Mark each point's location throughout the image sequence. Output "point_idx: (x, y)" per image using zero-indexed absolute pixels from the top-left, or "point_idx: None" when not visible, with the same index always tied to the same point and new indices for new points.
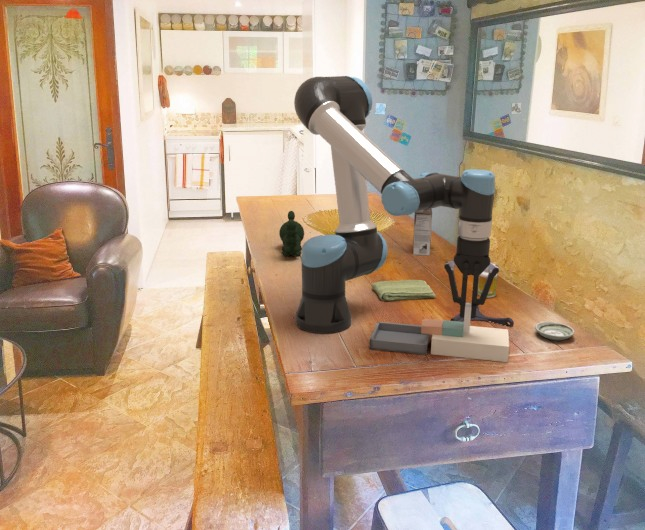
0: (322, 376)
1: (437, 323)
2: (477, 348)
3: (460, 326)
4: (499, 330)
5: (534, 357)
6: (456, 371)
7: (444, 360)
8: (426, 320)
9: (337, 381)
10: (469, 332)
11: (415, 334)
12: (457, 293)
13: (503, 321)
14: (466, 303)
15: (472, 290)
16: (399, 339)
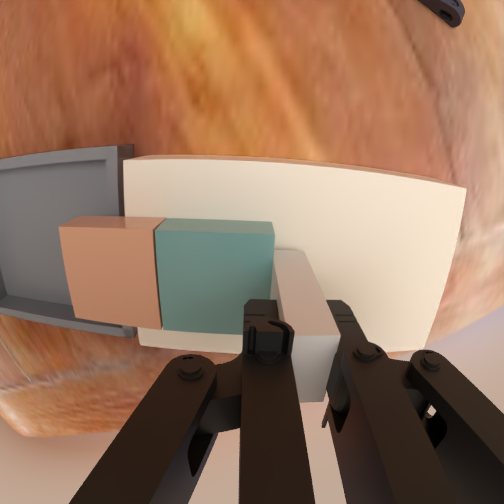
0: (14, 405)
1: (131, 287)
2: None
3: None
4: (435, 204)
5: (475, 267)
6: None
7: None
8: (76, 250)
9: (39, 421)
10: None
11: (78, 171)
12: (198, 419)
13: (434, 2)
14: (294, 347)
15: (369, 450)
16: (43, 232)
